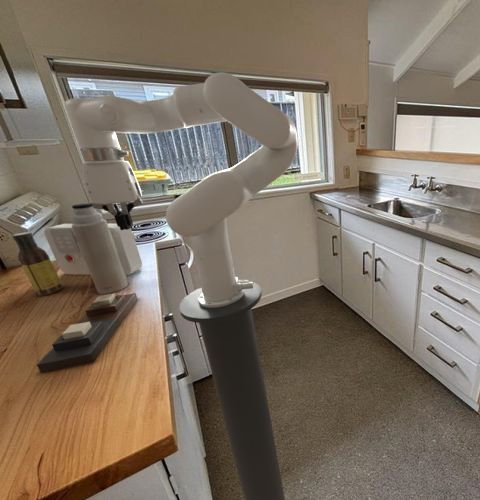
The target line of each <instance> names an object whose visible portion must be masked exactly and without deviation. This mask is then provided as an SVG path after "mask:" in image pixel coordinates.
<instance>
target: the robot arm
mask: <svg viewBox="0 0 480 500" xmlns="http://www.w3.org/2000/svg"><path fill="white" fill-rule="evenodd" d="M64 107H65V111H66V113H67V116H68V120H69V123H70V125H71V128H72V131H73V133H74V137H75V140H76V142H77V145H78V149H79V151H80V154H81V156H82V159H83V162H81V170H82V171H81V172H82V177H83V182H84V183H83V184H84V188H85V191H86V194H87V197H88V199H89V201H90V203H92V207H93V208H95V210H104V211H106V212H108V213H110V215H111V216H113V217H114V220H115V224H117V226H118V227H120V229H121V230H124V229H126V230H128V229H130V228H131V229H132V228H133V225H134V222H133V219H132V215H131V213H132V210H133V209H134V208H135V207H138V206H142V205H143V204H144V202H145V201H143V193H142V190H141V186H140V184H139V181H138V179H137V177H136V174H135V172H134V169H133V167H132V165H131V164H130V162H129V161H128V160H125V157H129V156H130V155H129V151H128V150H125V149H124V150H123V149H122V147H121V146H120V143H119V140H118V137H117V133H120V134H121V133H122V134H139V135H140V134H141V135H147V134H156V133H162V132H163V133H164V132H170V131H176V130H182V129H187V128H192V127H197V126H199V127H200V126H204V125H211V124H218V123H225V122H227V123H229V124H230V125H232V126H233V127H235V128H236V129H238V130H239V131H240V132H243V133H244V134H245V135H246V136H248V137H249V138H251V139H253V140H254V141H256V142H257V143H259V144H260V145H261V147H259V148H258V149H257V150H255V151H253V152H252V153H251V154H249V155H248V156H247V157H246V158H244V159H242V160H241V161H240V162H238V163H237V164H235V165H234V166H232V167H230V168H229V167H228V168H227V169H223V170H220V171H217V172H213V173H211V174H210V175H208V176H206V177H204V178H203V179H202V180H201V181H199V182H198V183H196V184H195V185H193V186H192V187H190V188H189V189H188V190H187V191H185V192H183V193H182V194H180V195H179V196H178V197H176V198H175V199H174V200H172V202H171V203H170V204H169V205H168V206H167V209H166V212H165V220H166V223H167V225H168V227H169V228H170V230H171V231H173V233H175V234H177V235H179V236H182V237H188V238H190V239H189V240H190V245H191V250H192V254H193V259H194V263H195V267H196V271H197V276H198V279H199V284H200V288H202V292H203V293H202V294H201V295H200V296H199V297H198V301H199V304H200V305H201V306H203V307H207V308H217V307H223V306H227V305H230V304H232V303H234V302H236V301H238V300H239V299H240V298H241V297H242V296H243V295H244V289H251V288H253V282H254V281H252V282H249V281H250V280H249V279H244V280H245V281H238V280H239V277H238V276H236V272H235V267H234V262H233V256H232V251H231V245H230V239H229V231H228V223H227V218H229V216H231V215H233V214H234V213H235V212H237V211H238V210H240V209H241V208H242V207H243V206H245V205H246V204H247V203H248V202H249V201H251V199H252V198H253V197H254V196H255V195H257V194H258V193H260V192H261V191H263V190H264V189H265V188H267V187H268V186H269V185H271V184H272V183H274V182H275V181H276V180H277V179H279V178H280V177H282V176H283V175H284V174H285V173H286V172H287V171H288V170H289V169H290V167H291V166H292V164H293V163H294V161H295V159H296V156H297V152H298V147H299V141H298V140H299V139H298V131H297V127H296V125H295V122H294V121H293V119H292V118H291V117H290V116H289V115H288V114H286V113H285V112H283V110H281V109H279V108H278V107H276V106H275V105H274V104H273V103H271V102H270V101H268V100H267V99H265V97H263V96H261V95H260V94H258V93H257V92H255V91H254V90H252V89H251V88H250V87H249V86H248V85H246V84H245V82H243V81H241V80H240V79H239V78H238V77H236V76H235V75H233V74H231V73H229V72H224V71H223V72H222V71H221V72H215V73H212V74H210V75H209V76H207V78H206V79H205V81H204V82H202V83H194V84H187V85H186V84H185V85H178V86H176V87H175V88H174V89H173V91H172V94H171V95H170V96H167V97H163V98H159V99H158V98H157V99H152V100H143V101H138V100H134V99H130V98H127V97H126V98H125V97H120V96H115V95H105V96H100V97H99V96H98V97H93V98H84V97H83V98H82V97H81V98H78V97H77V98H76V97H75V98H68V99H66V100H65V102H64ZM118 204H120V207H119V205H118Z"/></svg>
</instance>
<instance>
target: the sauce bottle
mask: <svg viewBox="0 0 480 500" xmlns="http://www.w3.org/2000/svg"><path fill="white" fill-rule="evenodd" d="M11 237H12V238H13V241H15V242H16V245H17V246H18V249H19V252H18V256H17V258H18V261H19V262H20V265H21V267H22V269H23V271H24V273H25V275H26V277H27V278H28V281H29V282H30V284H31V286H32V288H33V290H34V291H35V293H36V294H37V295H38V296H47V295H51V294H55V293H56V292H59V291H60V290H62V289H63V284H62V281H61V278H60V277H59V274H58V273H57V271H56V268H55V266H54V264H53V263H52V260H51V259H50V256H49V254H48V253H47V251H45V249H43V248H42V247H39V246H38V244H37V242H36V240H35V238H34V234H33V233H32V231H24V232H18V233H15V234H12V235H11Z"/></svg>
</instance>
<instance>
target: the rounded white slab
mask: <svg viewBox="0 0 480 500" xmlns="http://www.w3.org/2000/svg"><path fill="white" fill-rule="evenodd" d="M72 224H73V223H60V224H58V225H54V226H53V225H52V226H49V227H45V230H44V231H43V232H44V236H45V239H46V241H47V243H48V245H49V247H50V250H51V252H52V254H53V257H54V259H55V261H56V262H55V263H56V264H57V266H58V269H60V270H59V271H60V272H62V273H63V274H64V275H65V274H66V275H79V276H80V275H84V276H85V275H87V276H88V275H89V276H91V274H90V272H89V269H88V266H87V264H86V261H85V259H84V256H83V254H82V251H81V249H80V246H79V244H78V241H77V238H76V236H75V233H74V231H73V228H72ZM107 224H108V227H109V230H110V233H111V236H112V239H113V242H114V245H115V248H116V251H117V253H118V257H119V260H120V263H121V265H122V268H123V271H124V274H125V276H129V275H132V274H133V273H135V272H137V271H139V270H140V269H142V268H143V262H142V259H141V256H140V251H139V249H138V246H137V242H135V241H136V238H135V239H134V236H135V235H134V236H133V233H134V232H133V230H132V227H131V228H130V229H128V230H126V229H124V230H121V229H120V227H118V226H117V223H107ZM132 232H133V233H132Z"/></svg>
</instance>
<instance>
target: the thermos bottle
mask: <svg viewBox="0 0 480 500" xmlns="http://www.w3.org/2000/svg"><path fill="white" fill-rule="evenodd" d="M71 207H72V209H73V214H74V215H73V216H71V221H72V222H73V223H71V224H72V228H73V231H74V233H75V236H76V238H77V241H78V244H79V246H80V249H81V251H82V254H83V256H84V259H85V261H86V264H87V266H88V269H89V272H90V274H91V275H90V277H91V279H92V282H93V285H94V287H95V289H96V292H97V293H98V294H102V295H103V294H104V295H107V294H113V293H115V292H119V291H121V290H124V289H125V288H126V287H128V285H129V283H128V280H127V277H126V275H125V274H124V271H123V268H122V265H121V263H120V260H119V257H118V253H117V251H116V248H115V245H114V242H113V239H112V236H111V233H110V230H109V227H108V224H109V223H108V221H107V220H106V219H103V215H102V213H100V212H98V211H97V209H95V208H93V207H92V202H83V203H75V204H73V205H71Z"/></svg>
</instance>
